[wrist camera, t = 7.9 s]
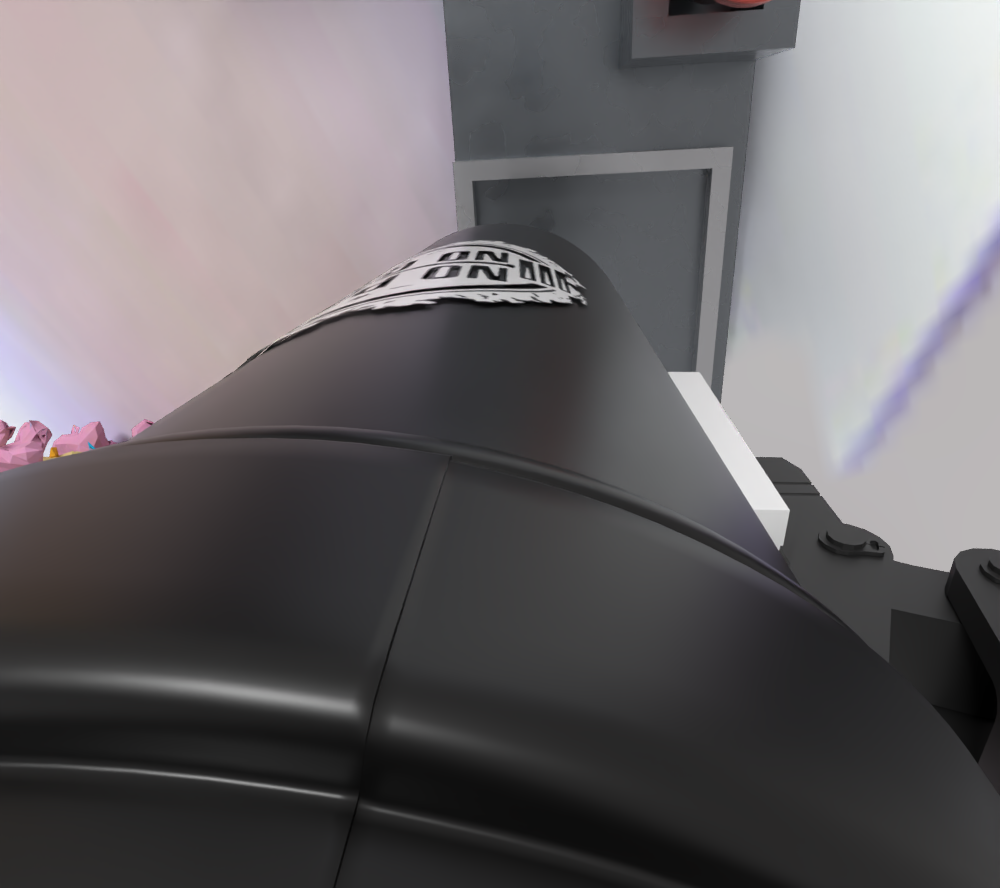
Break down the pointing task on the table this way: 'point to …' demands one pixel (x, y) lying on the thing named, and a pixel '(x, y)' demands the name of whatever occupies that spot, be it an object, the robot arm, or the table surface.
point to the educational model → (37, 436)
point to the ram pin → (734, 2)
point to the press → (617, 144)
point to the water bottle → (448, 628)
